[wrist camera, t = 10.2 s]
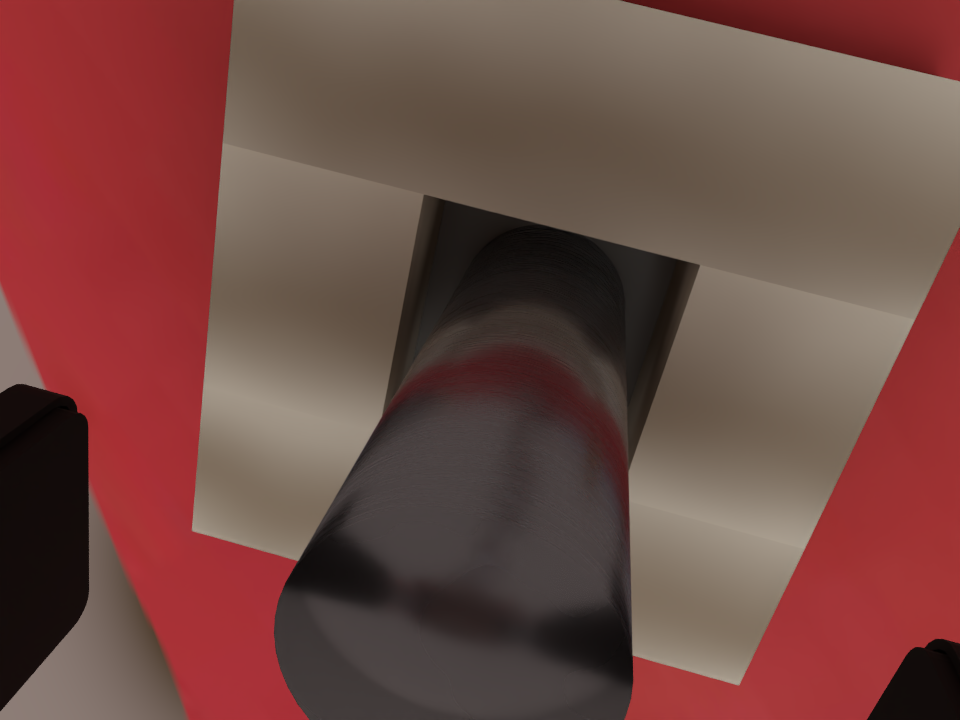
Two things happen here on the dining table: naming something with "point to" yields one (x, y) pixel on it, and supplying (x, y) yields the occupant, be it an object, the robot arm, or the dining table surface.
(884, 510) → the dining table surface
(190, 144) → the dining table surface
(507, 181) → the socket block
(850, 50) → the dining table surface
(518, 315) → the steel peg
